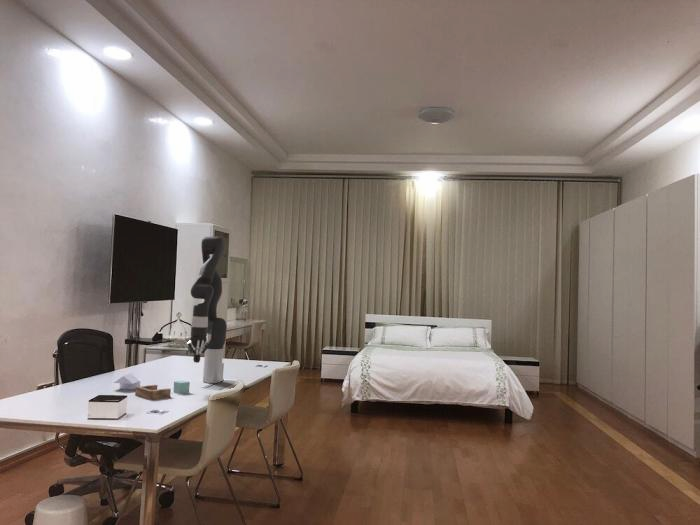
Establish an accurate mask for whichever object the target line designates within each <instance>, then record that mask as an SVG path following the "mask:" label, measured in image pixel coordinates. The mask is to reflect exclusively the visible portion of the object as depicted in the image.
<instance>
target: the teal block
mask: <svg viewBox="0 0 700 525" xmlns="http://www.w3.org/2000/svg"><path fill="white" fill-rule="evenodd" d="M190 383H191V382H190V381H188V380H176V381H173V393H175V394H179V395H182V394H183V395H184V394H187V393H188V394H189V393H190Z"/></svg>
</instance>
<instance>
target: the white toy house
mask: <svg viewBox="0 0 700 525" xmlns="http://www.w3.org/2000/svg"><path fill="white" fill-rule="evenodd" d="M113 384H119V389H123V390H136V387H139V386H141V379H140V378H137V377H136V376H135V375H134V374H133V373H131V372H130V373H128V374H125V375H122V377H119V379H117V380H116V381H114V382H113Z"/></svg>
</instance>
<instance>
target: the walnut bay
mask: <svg viewBox="0 0 700 525" xmlns="http://www.w3.org/2000/svg"><path fill="white" fill-rule="evenodd" d="M134 390H135V393H134V395H135V396H137V397H140V398H144V399H147V400H150V401H151V400H152V401H153V400H159V399H165V398H171V393H172V391H171V388H169V387H168V388H160V389H158V384H148V385H140V386H139V387H136V389H134Z"/></svg>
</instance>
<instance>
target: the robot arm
mask: <svg viewBox="0 0 700 525" xmlns="http://www.w3.org/2000/svg"><path fill="white" fill-rule="evenodd" d="M200 244H201V255H202V256H201V258H202V266H201V267H200V270H199V274H198V276H197V278H196V281H195V282H194V283H193V284H192V286H191V288H190V295H191V297H192V298H193V299H199V300H203V302H201V303H195V304H194V305H193V310H192V311H193V312H192V319H191V326H190V338H189V341H188V342H185V346H186V347H187V349H188V351H189V353H190V354H193V359H192V360H193V362H194V363H195V364H198V363H200V361H201V355H202V354H204V358H203V361H204V363H203V375H202V382H203V383H207V384H208V383H209V384H217V383H221V381H222V382H224V381H223V380H224V379H223V378H224V366H225V365H224V364H225V363H224V362H223V361H224V360H223V357H224V346H225V343H226V337H227V331H228V327H227V322H226V320H225V319H224V318H222V317H218V316H217V313H218V312H217V307H218V303H219V301H220V299H221V297H222V294H223V284H222V283H223V281H222V277H221V275H220V274H219V272H218V271H217V270H216V269H217V267H218V265H219V263H220V260H221V259H222V258H221V257H222V256H223V253H224V250H225V239H224V238H223V237H221V236H204V237H202V239H201V243H200ZM208 335H210V339H209V341H207V340H208V339H207V336H208Z"/></svg>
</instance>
